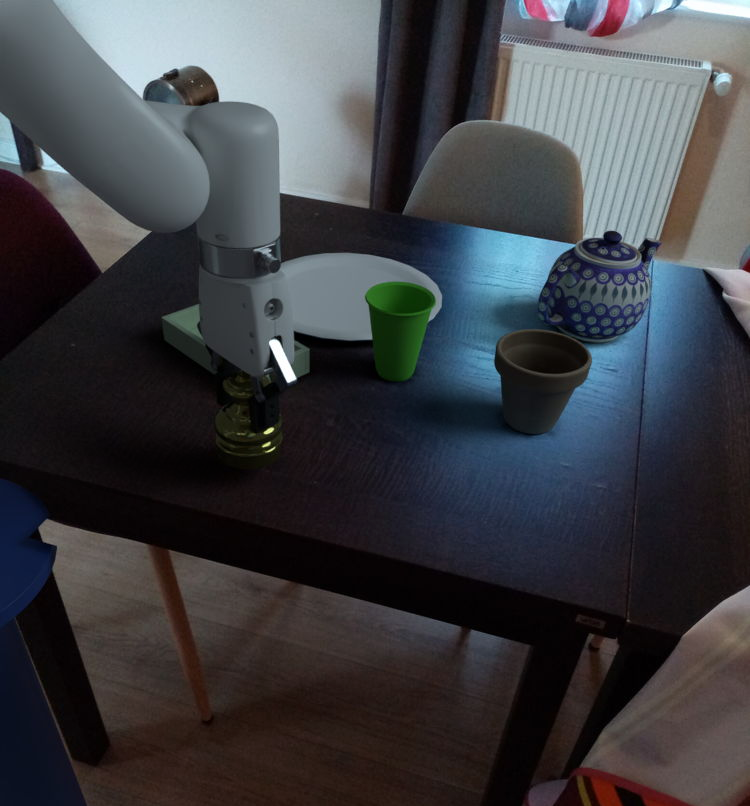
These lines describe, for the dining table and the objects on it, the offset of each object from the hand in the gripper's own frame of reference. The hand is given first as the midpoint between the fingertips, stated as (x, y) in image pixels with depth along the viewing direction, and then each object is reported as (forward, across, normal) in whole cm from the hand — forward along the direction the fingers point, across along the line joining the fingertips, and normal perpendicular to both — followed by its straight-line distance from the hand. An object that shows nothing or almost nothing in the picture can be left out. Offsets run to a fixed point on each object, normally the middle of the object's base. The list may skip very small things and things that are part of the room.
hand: (247, 412), depth 84 cm
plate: (+7, +23, -36) cm, 44 cm away
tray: (+8, +21, -14) cm, 26 cm away
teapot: (+7, -6, -60) cm, 60 cm away
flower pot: (+7, -15, -32) cm, 37 cm away
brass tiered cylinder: (+5, 0, 0) cm, 5 cm away
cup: (+7, +4, -28) cm, 29 cm away
